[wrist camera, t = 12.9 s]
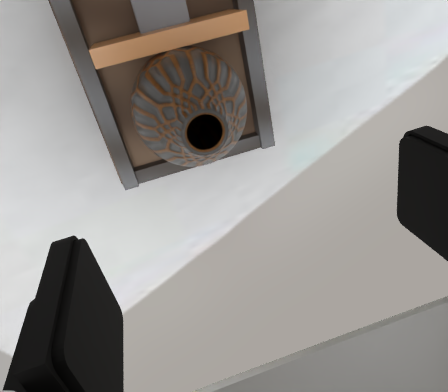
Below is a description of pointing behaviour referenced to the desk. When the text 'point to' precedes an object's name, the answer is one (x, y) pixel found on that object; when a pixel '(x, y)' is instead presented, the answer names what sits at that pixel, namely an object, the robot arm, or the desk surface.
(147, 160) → the tray
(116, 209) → the desk surface
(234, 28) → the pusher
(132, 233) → the desk surface
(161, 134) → the vase
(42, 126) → the desk surface
